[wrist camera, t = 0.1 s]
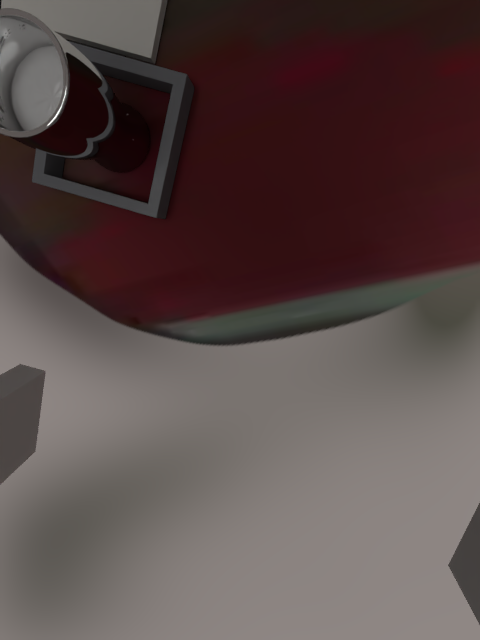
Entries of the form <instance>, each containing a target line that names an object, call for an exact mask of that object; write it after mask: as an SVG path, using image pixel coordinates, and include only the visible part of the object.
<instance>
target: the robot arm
mask: <svg viewBox="0 0 480 640" xmlns="http://www.w3.org/2000/svg"><path fill="white" fill-rule="evenodd" d="M44 379H45V371H43V370H40V369H36V368H32V367H29V366H25V365H21V364H20V365H18V366H16V367H14V368H13V369H11V370H9V371H7V372H5V373H4V374H1V375H0V484H1V483H2V482H4V481H5V480H6V479H7V478H8V477H9V476H10V475H11V474H12V473H13V472H14V471H15V470H16V469H17V468H18V467H19V466H20V465H21V464H22V463H23V462H25V461H26V460H27V459H28V458H29V457H30V456H31V455H32V454H33V453H34V452H35V448H36V441H37V434H38V426H39V418H40V410H41V403H42V394H43V387H44ZM448 566H449V567H450V569H451V571H452V573H453V575H454V577H455V579H456V581H457V582H458V585H459V586H460V588H461V590H462V592H463V594H464V596H465V598H466V600H467V602H468V604H469V605H470V607H471V609H472V611H473V613H474V615H475V617H476V619H477V620H478V622H479V624H480V503H479V505H478V507H477V509H476V511H475V513H474V515H473V517H472V519H471V521H470V523H469V525H468V527H467V529H466V531H465V533H464V535H463V537H462V539H461V541H460V543H459V545H458V547H457V549H456V551H455V553H454V555H453V557H452V559H451V561H450V563H449V565H448Z"/></svg>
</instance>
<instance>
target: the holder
mask: <svg viewBox="0 0 480 640" xmlns="http://www.w3.org/2000/svg"><path fill="white" fill-rule="evenodd" d="M68 42H70V41H68ZM70 43H71V44H72V45H73V46H74V47H75V48H77V49H78V50H79V51H80V52H81V53H83V54H84V55H85V56H86V57H87V58H88V59H89V60H90V61H91V62H92V63H93V64H94V65H95V67H96V68H97V69H98V70H99V71H100V73H101V74H103V75H106V76H110V77H113V78H117V79H120V80H124V81H128V82H131V83H135V84H138V85H142V86H145V87H149V88H152V89H156V90H159V91H163V92H166V93H170V94H171V96H170V101H169V106H168V110H167V115H166V120H165V125H164V130H163V134H162V139H161V144H160V149H159V154H158V158H157V163H156V168H155V173H154V178H153V183H152V187H151V192H150V197H149V202H148V203H146V202H142V201H139V200H135V199H132V198H128V197H125V196H122V195H118V194H115V193H111V192H108V191H104V190H101V189H97V188H94V187H90V186H87V185H84V184H80V183H77V182H73V181H70V180H66V179H63V178H62V174H63V168H64V161H65V158H61V157H57V156H54V155H50V154H47V153H44V152H41V151H39V150H36V154H35V162H34V170H33V177H32V182H34V183H38V184H41V185H45V186H48V187H52V188H55V189H59V190H62V191H65V192H69V193H72V194H76V195H79V196H83V197H86V198H89V199H93V200H96V201H100V202H103V203H107V204H110V205H114V206H117V207H120V208H124V209H127V210H131V211H134V212H138V213H141V214H144V215H148V216H151V217H155V218H161V219H166V215H167V210H168V206H169V201H170V197H171V192H172V188H173V183H174V179H175V174H176V170H177V165H178V161H179V156H180V151H181V147H182V142H183V138H184V133H185V129H186V124H187V120H188V115H189V111H190V106H191V102H192V97H193V93H194V86H193V84H192V82H191V81H190V79H189V77H188V75H187V74H184V73H180V72H177V71H173V70H170V69H166V68H162V67H159V66H155V65H152V64H148V63H145V62H141V61H138V60H134V59H130V58H127V57H123V56H120V55H116V54H113V53H109V52H106V51H102V50H98V49H95V48H91V47H88V46H84V45H81V44H77V43H74V42H70Z"/></svg>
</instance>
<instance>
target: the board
mask: <svg viewBox="0 0 480 640" xmlns="http://www.w3.org/2000/svg"><path fill="white" fill-rule="evenodd" d="M167 1H168V0H2V4H1V9H3V8H13V9H19V10H22V11H25V12H28V13H30V14H32V15H34V16H35V17H37V18H38V19H40V20H41V21H42V22H43V23H45V24H46V25H47V26H48V27H49V28H50V29H52V30H53V31H55V32H56V33H58V34H59V35H60V36H62V37H63V38H64V39H67V40H71V41H75V42H78V43H82V44H85V45H89V46H92V47H96V48H99V49H103V50H107V51H110V52H114V53H117V54H121V55H124V56H128V57H132V58H135V59H139V60H142V61H146V62H149V63H153V64H155V62H156V57H157V52H158V47H159V42H160V37H161V32H162V26H163V21H164V16H165V11H166V6H167Z"/></svg>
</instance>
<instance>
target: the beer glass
mask: <svg viewBox="0 0 480 640" xmlns="http://www.w3.org/2000/svg"><path fill="white" fill-rule="evenodd" d="M0 133H1V134H3V135H6V136H9V137H10V138H12V139H14V140H16V141H18V142H20V143H23V144H25V145H27V146H29V147H31V148H34V149H36V150H39V151H41V152H44V153H47V154H50V155H54V156H57V157H61V158H68V159H76V160H95V161H96V162H98V163H99V164H100V165H101V166H103V167H104V168H106V169H108V170H110V171H113V172H119V173H122V172H128V171H131V170H133V169H135V168H137V167H138V166H139V165H140V164H141V163H142V162H143V161H144V159H145V158H146V156H147V154H148V151H149V146H150V134H149V129H148V126H147V124H146V122H145V120H144V118H143V117H142V116H141V115H140V113H139V112H138V111H136V110H135V109H134V108H132V107H131V106H129V105H127V104H124V103H122V102H120V101H119V100H118V98H117V96H116V95H115V93H114V91H113V90H112V88H111V87H110V85H109V84H108V82H107V81H106V79H105V78H104V77H103V75H102V74H101V73H100V71H99V70H98V69H97V68H96V67H95V65H94V64H93V63H92V62H91V61H90V60H89V59H88V58H87V57H86V56H85V55H84V54H83V53H81V52H80V51H79V50H78V49H77V48H75V47H74V46H73V45H72V44H71V43H70V42H68V41H67V40H66V39H64V38H63V37H62V36H60V35H59V34H58V33H56V32H55V31H53V30H52V29H50V28H49V27H48V26H47V25H46V24H45V23H43V22H42V21H41V20H40V19H38V18H37V17H35V16H34V15H32V14H30V13H28V12H25V11H22V10H19V9H13V8H3V9H0Z"/></svg>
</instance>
